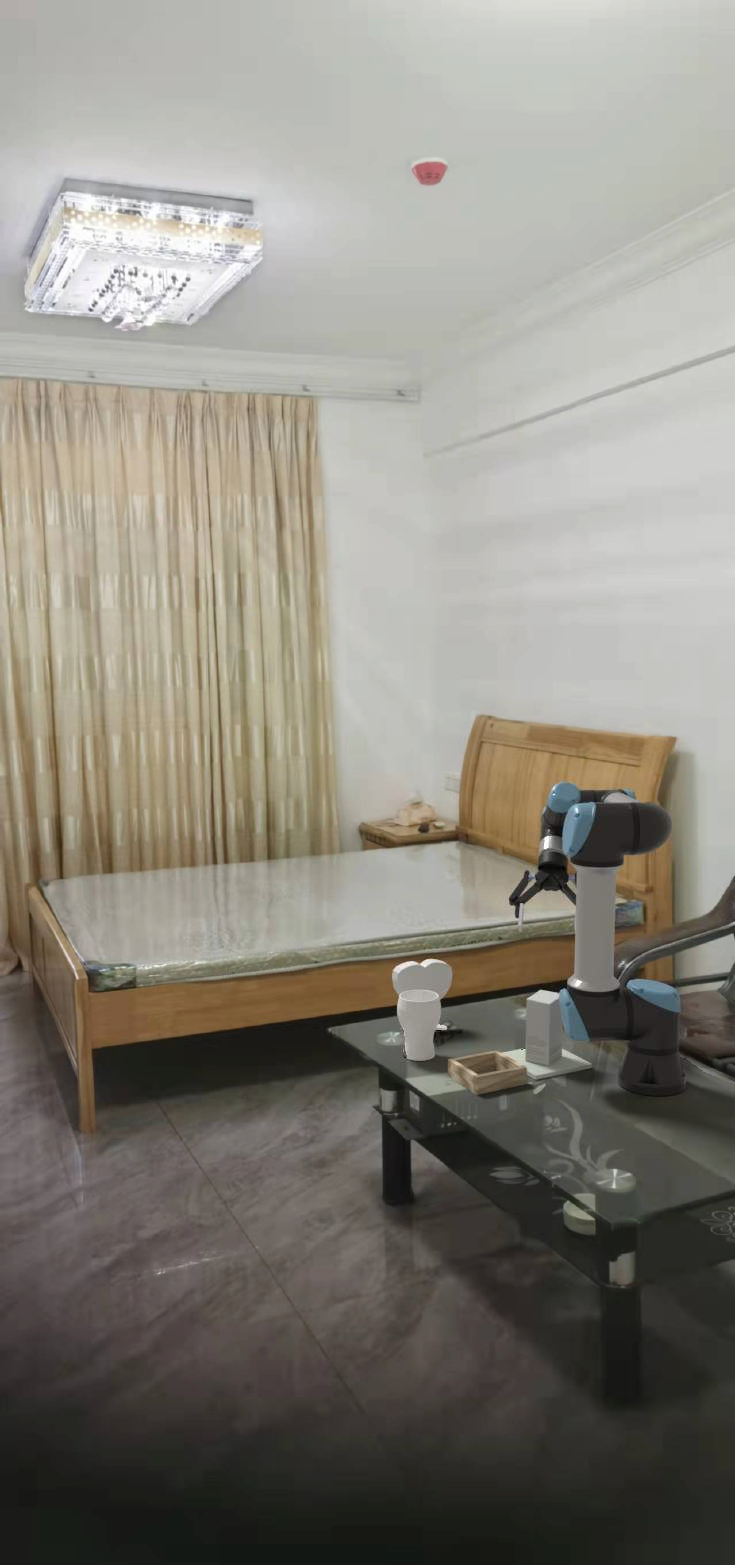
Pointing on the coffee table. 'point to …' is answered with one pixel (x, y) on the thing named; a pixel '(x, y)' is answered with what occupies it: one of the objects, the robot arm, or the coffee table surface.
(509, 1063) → the caddy
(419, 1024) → the cup
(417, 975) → the heart sculpture
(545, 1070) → the board
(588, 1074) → the coffee table surface
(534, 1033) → the skincare box
